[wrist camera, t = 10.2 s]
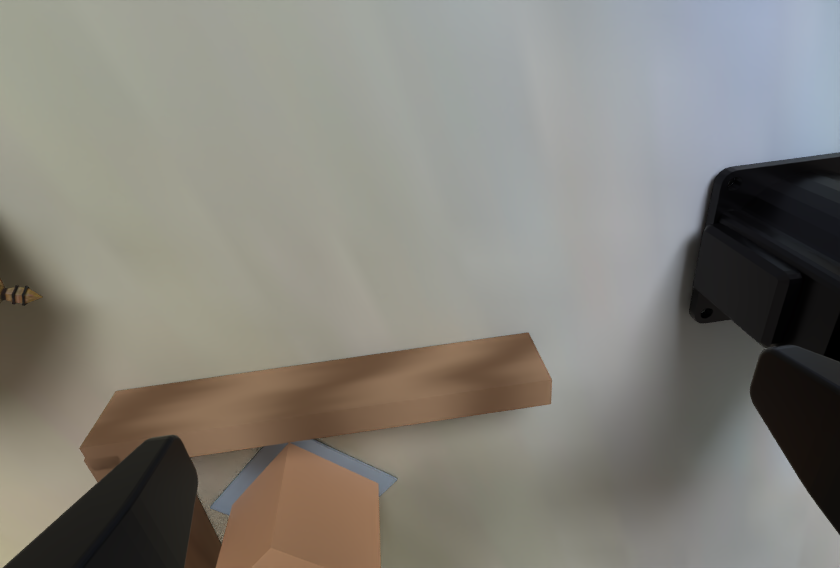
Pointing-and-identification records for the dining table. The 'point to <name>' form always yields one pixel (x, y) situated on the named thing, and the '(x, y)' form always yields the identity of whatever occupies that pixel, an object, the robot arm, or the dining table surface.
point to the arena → (315, 410)
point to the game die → (17, 294)
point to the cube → (304, 517)
